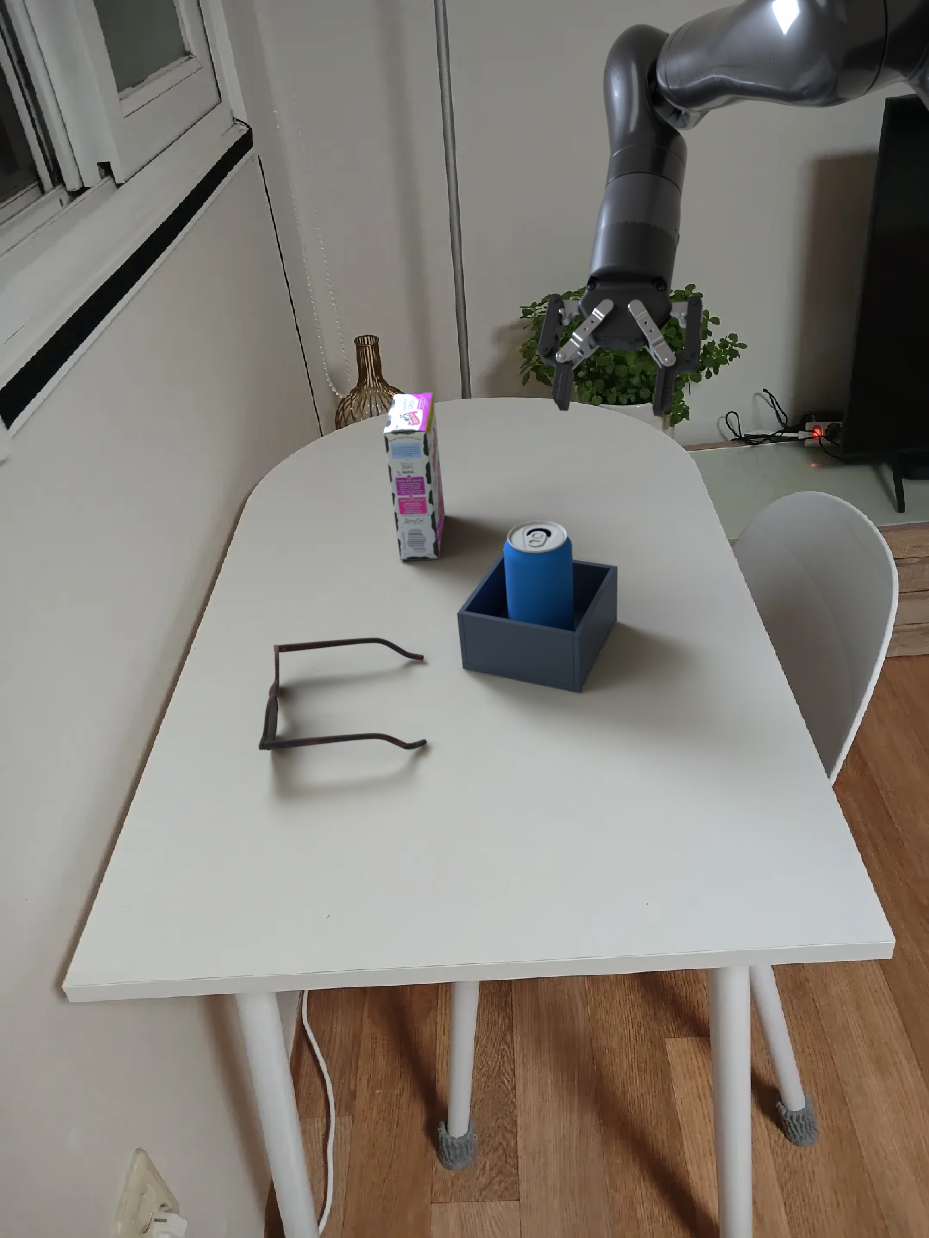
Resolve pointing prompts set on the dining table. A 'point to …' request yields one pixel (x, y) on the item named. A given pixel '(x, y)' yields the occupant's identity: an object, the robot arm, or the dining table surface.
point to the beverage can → (539, 574)
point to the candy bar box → (415, 475)
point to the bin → (539, 630)
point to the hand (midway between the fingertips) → (609, 410)
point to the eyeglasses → (271, 729)
